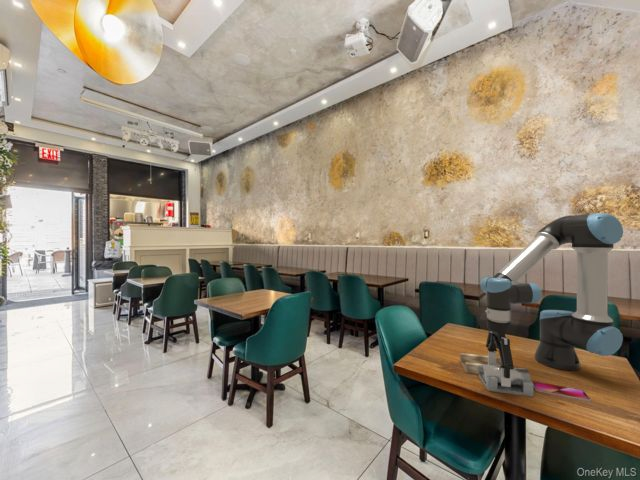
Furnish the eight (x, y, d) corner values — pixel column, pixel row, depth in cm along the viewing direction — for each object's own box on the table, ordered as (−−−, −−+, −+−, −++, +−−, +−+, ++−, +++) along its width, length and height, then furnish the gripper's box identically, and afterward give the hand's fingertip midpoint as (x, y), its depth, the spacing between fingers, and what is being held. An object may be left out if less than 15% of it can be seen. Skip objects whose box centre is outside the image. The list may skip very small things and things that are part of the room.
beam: (500, 366, 119) (500, 357, 119) (511, 379, 108) (511, 369, 108) (459, 361, 123) (459, 352, 123) (466, 373, 112) (466, 364, 112)
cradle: (519, 380, 106) (519, 369, 106) (533, 396, 95) (533, 383, 95) (478, 376, 109) (478, 364, 109) (487, 390, 99) (488, 378, 99)
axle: (523, 382, 103) (522, 366, 103) (531, 390, 97) (530, 372, 97) (481, 377, 106) (481, 361, 107) (487, 384, 100) (486, 367, 101)
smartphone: (531, 380, 105) (582, 389, 98) (531, 383, 105) (582, 392, 98) (536, 389, 98) (591, 400, 92) (536, 392, 98) (592, 403, 92)
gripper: (477, 310, 116) (477, 361, 116) (499, 329, 91) (499, 393, 91) (497, 312, 114) (497, 363, 114) (525, 331, 90) (525, 396, 90)
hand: (498, 376), depth 103 cm, fingers open, 13 cm apart
